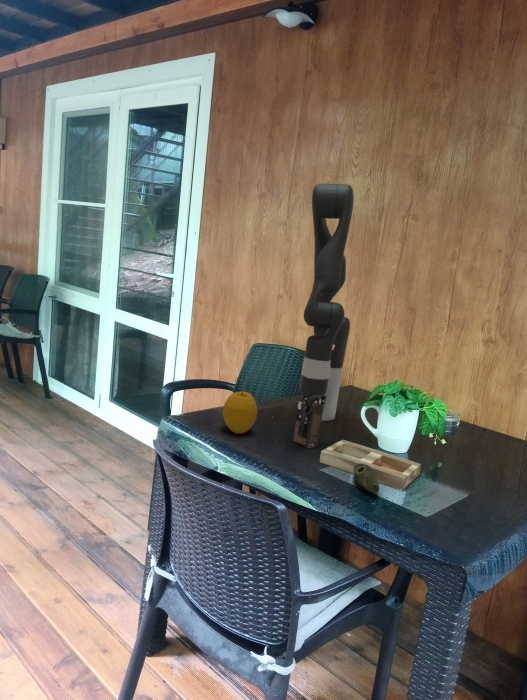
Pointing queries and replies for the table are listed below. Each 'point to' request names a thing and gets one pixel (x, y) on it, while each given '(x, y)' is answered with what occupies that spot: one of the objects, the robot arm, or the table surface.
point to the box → (310, 427)
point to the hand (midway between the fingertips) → (306, 433)
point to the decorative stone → (366, 477)
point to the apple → (240, 412)
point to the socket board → (371, 463)
